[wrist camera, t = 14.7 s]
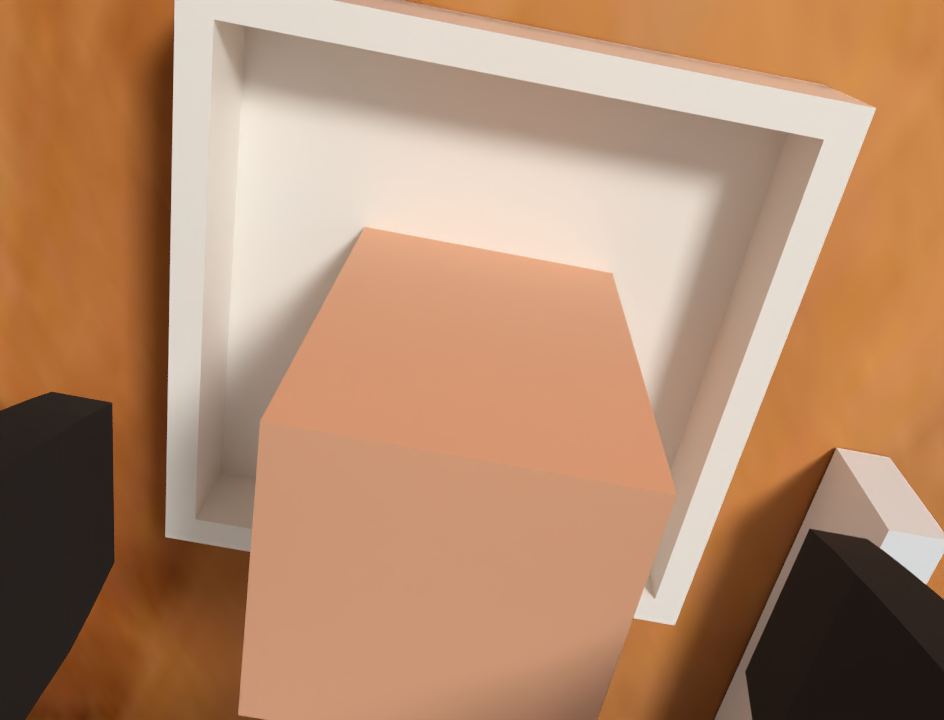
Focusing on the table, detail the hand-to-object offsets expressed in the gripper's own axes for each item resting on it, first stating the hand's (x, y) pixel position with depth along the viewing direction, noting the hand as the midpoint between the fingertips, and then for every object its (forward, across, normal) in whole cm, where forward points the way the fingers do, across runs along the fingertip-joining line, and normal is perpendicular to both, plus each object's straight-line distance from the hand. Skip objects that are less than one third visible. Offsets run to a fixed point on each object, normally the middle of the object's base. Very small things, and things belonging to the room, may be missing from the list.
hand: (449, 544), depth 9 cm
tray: (+6, 0, 0) cm, 6 cm away
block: (+6, 0, +1) cm, 6 cm away
